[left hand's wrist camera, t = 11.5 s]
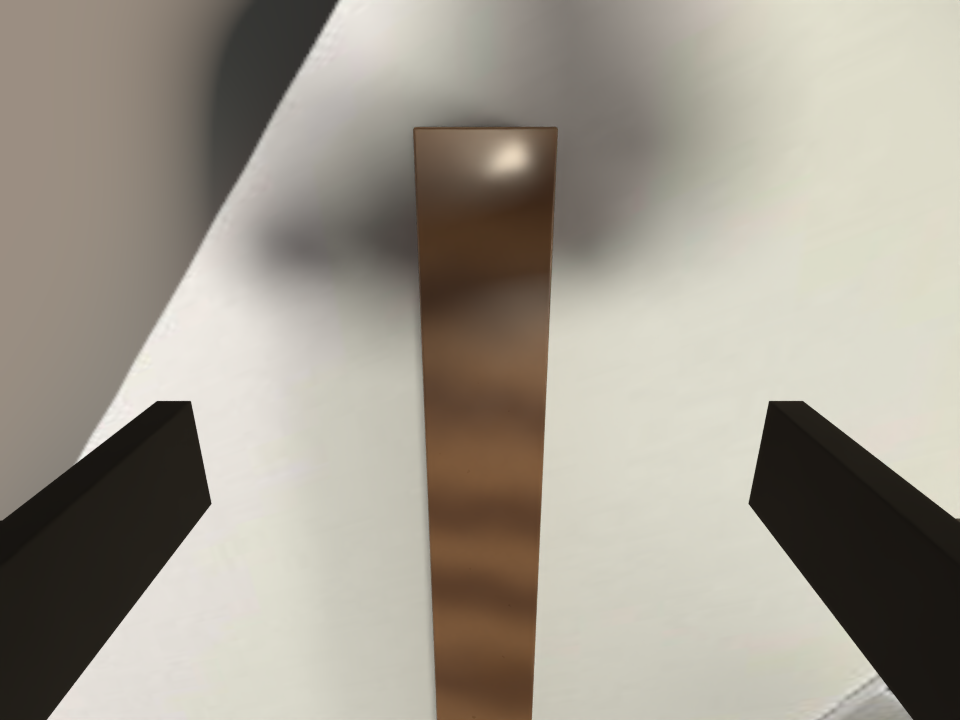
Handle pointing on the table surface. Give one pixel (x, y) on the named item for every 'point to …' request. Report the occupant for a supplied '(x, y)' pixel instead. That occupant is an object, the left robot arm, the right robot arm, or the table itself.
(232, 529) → the table surface
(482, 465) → the post
